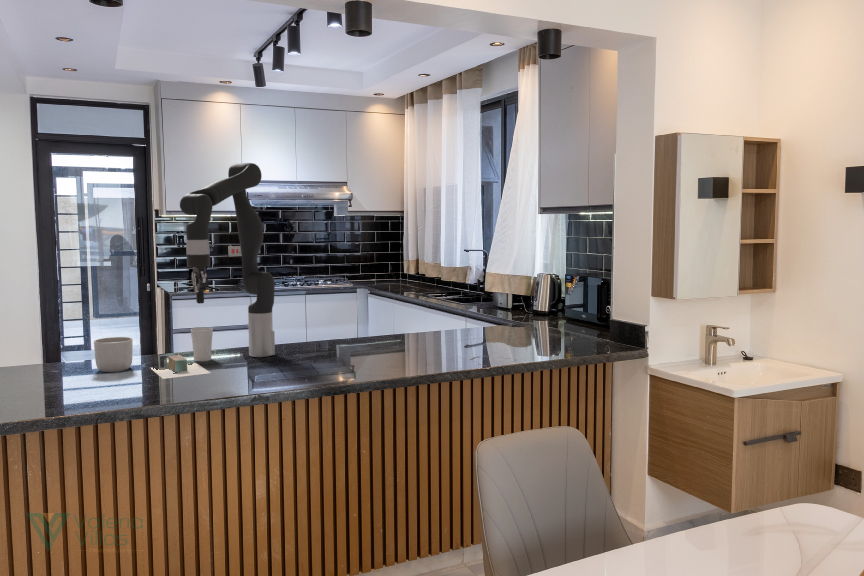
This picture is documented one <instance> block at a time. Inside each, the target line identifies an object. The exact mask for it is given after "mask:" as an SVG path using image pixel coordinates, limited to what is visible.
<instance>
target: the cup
mask: <svg viewBox="0 0 864 576" xmlns="http://www.w3.org/2000/svg"><path fill="white" fill-rule="evenodd" d="M213 330H214V329H213V327H205V326H204V327H193V328H190V333H191V334H190V336H191V339H192V340H191V341H192V350H193V361H195V362H208V361H211V360H212V346H213V343H212V342H213V332H214V331H213Z"/></svg>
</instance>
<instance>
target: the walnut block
mask: <svg viewBox="0 0 864 576" xmlns="http://www.w3.org/2000/svg"><path fill="white" fill-rule="evenodd" d="M167 358H168V359H167V360H168V366H169V367H170V368H171V369H172V370H174V371H175V372H181V371H187V364H188V359H186V358H185V357H183V356H182V355H181V354H176V355H168V356H167Z"/></svg>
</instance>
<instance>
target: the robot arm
mask: <svg viewBox="0 0 864 576" xmlns="http://www.w3.org/2000/svg"><path fill="white" fill-rule="evenodd" d="M227 172H228V177H226V178H222V179H220V180H217V181H215V182H214V181H213V182H212V183H209V184H208V185H206V186H205V187H203V188H200V189H198V190H194V191H191V192H189V193H186V194H185V195H183V196H182V198H181V199H180V201H179V208H180V211H181V212H182V213H183V214H185V215H189V216H195V219H194V221H192V222H189V223H187V224H186V225H185V226H186V229H185V230H186V231H185V232H186V246H185V247H186V248H185V249H186V267H188V268H192V272H191V275H190V279H191V280H190V281H191V283H192V289H193V291H194V292H195V296H196V297H195V298H196V299H195V300H196V304H204V303H205V294H204V293H205V292H206V291H207V286H208V282H209V278H208V276H207V272H206V268H208V267H210V266H211V254H210V253H211V252H210V248H211V247H210V242H209V226H210V220H211V217H212V213H213V207H214V206H217V205H219V204H221V202H223V201H225V200H226V199H228V198H230V197H232V201H233V204H234V210H235V216H236V223H237V226H236V227H237V233H238V239H239V244H240V246H239V247H240V253H241V254H240V255H241V267H242V273H241V274H242V284H243V288H244V291H245V292H246V293H247V294H249V295H255V296H256V300H255V302H253V303H250V304H249V305H248V306H247V312H248V313H247V317H248V320H247V321H248V323H247V325H248V356H250V357H253V358H262V357H263V358H264V357H270V356H275V354H276V352H275V351H276V349H275V346H276V345H275V344H276V343H275V330H274V329H273V307H274V305H275V304H274V303H275V289H276V287H275V286H276V285H275V278H274V276H273V275H272V274H271V273H270V272H268V271H259V268H258V255H259V252H260V249H261V247H262V245H263V242H264V228H263V223H262V219H261V218H260V217H261V216H260V215H259V214H258V213H257V211H256V210H255V208H254V207H253V205H252V204H251V202H250V201H249V199H248V195H247V189H251V188H255V187H257V186H259V185H260V183H261V181H262V170H261V168H260V167H259V165H257V164H256V163H252V162H243V163H242V162H240V163H233V164H231V165H230V166H229V168H228V171H227Z"/></svg>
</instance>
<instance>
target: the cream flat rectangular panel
mask: <svg viewBox="0 0 864 576" xmlns="http://www.w3.org/2000/svg"><path fill="white" fill-rule="evenodd" d="M192 363H193V364H192V365H188V364H189V363H187V371H181V372H180V373H179V372H178V373H177V374H173V373H175V372H173V371H172V370H169V369H165V370H159V369H158V370H156V369H155V368H154V369H153V367H150V368H151V369H150V370H151V371H153V373H155V374H156V375H158V376H159V378H161V379H163V380H166V379H173V378H182V377H190V376H191V377H192V376H198V375H206V374H207V375H208V374H211V372H210V371H208V370H207V369H206V368H204V367H203V366H201V365H200V364H198V363H196V362H192Z"/></svg>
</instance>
